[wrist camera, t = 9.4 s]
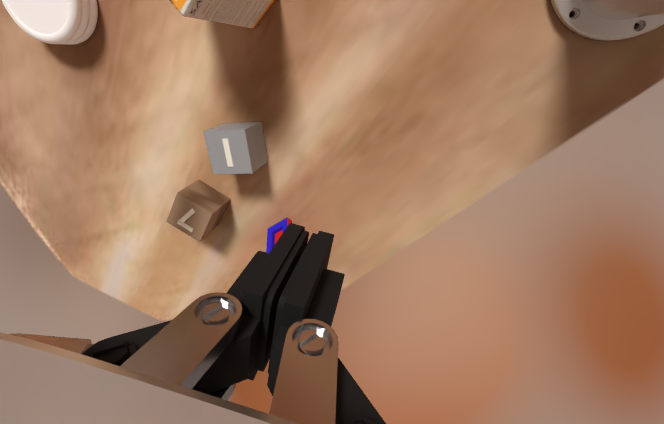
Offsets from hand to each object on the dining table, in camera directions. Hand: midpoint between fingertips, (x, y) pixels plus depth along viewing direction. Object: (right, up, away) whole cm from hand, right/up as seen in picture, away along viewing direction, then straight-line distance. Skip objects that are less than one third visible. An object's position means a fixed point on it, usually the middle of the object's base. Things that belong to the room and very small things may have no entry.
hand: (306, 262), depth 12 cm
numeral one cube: (-10, +11, +30) cm, 33 cm away
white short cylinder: (-31, +27, +27) cm, 49 cm away
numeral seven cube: (-16, +3, +35) cm, 39 cm away
